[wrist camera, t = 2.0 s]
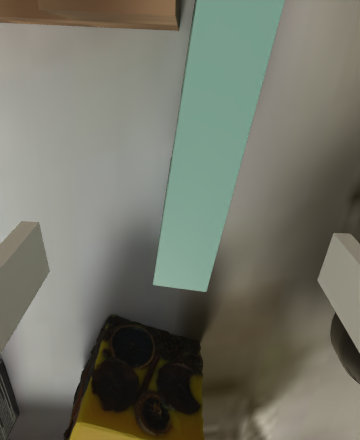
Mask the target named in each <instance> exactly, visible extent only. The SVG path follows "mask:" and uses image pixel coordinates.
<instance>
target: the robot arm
mask: <svg viewBox="0 0 360 440" xmlns="http://www.w3.org/2000/svg"><path fill="white" fill-rule="evenodd" d="M49 272H50V270H49V266H48V261H47V257H46V252H45V248H44V243H43V239H42V234H41V230H40V225H39V222H21V223H20V224H19V225H18V226H17V227H16V228H15V229H14V230H13V231H12V232H11V233H10V234H9V236H8V237H7V238H6V239H5V240H4V241H3V242H2V243H1V244H0V354H1V352H2V351H3V349H4V347H5V346H6V344H7V342H8V341H9V339H10V337H11V335H12V334H13V332H14V330H15V329H16V327H17V325H18V324H19V322H20V320H21V319H22V317H23V315H24V314H25V312H26V310H27V309H28V307H29V305H30V304H31V302H32V300H33V298H34V297H35V295H36V293H37V292H38V290H39V288H40V287H41V285H42V283H43V282H44V280H45V278H46V277H47V275H48V273H49ZM317 281H318V282H319V284H320V286H321V288H322V289H323V291H324V293H325V294H326V296H327V298H328V300H329V301H330V303H331V305H332V307H333V308H334V310H335V312H336V315H335V317H334V319H333V322H332V326H331V342H332V345H333V348H334V350H335V352H336V353H337V355H338V357H339V359H340V361H341V363H342V365H343V367H344V368H345V370H346V371H347V373H348V374H349V375H350V376H351V377H352V378H353V379H354V380H355V381H357V382H358V383H359V384H360V244H359V243H358V241H357V240H356V239H355V238H354V237H353V236H352V235H351V234H345V233H333V236H332V239H331V242H330V245H329V248H328V251H327V254H326V257H325V260H324V262H323V265H322V268H321V271H320V274H319V277H318V280H317Z"/></svg>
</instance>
